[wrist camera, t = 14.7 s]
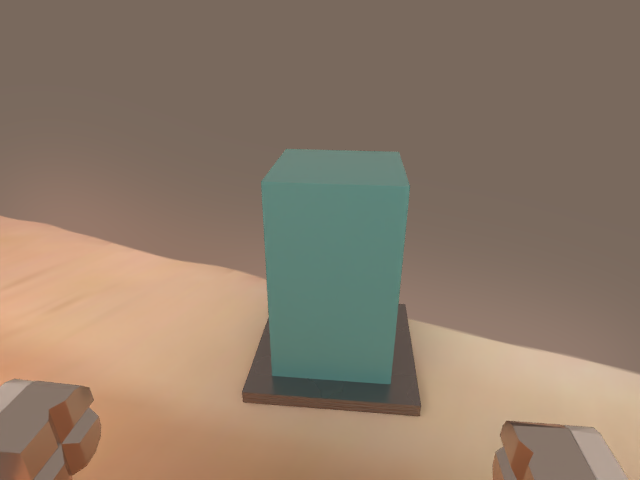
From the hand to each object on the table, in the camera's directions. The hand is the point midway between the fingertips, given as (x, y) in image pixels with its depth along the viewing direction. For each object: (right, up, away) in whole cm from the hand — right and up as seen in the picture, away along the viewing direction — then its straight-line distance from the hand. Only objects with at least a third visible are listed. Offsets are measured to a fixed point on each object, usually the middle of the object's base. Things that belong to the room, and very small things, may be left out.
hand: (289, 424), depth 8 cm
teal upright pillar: (+1, -2, +14) cm, 14 cm away
